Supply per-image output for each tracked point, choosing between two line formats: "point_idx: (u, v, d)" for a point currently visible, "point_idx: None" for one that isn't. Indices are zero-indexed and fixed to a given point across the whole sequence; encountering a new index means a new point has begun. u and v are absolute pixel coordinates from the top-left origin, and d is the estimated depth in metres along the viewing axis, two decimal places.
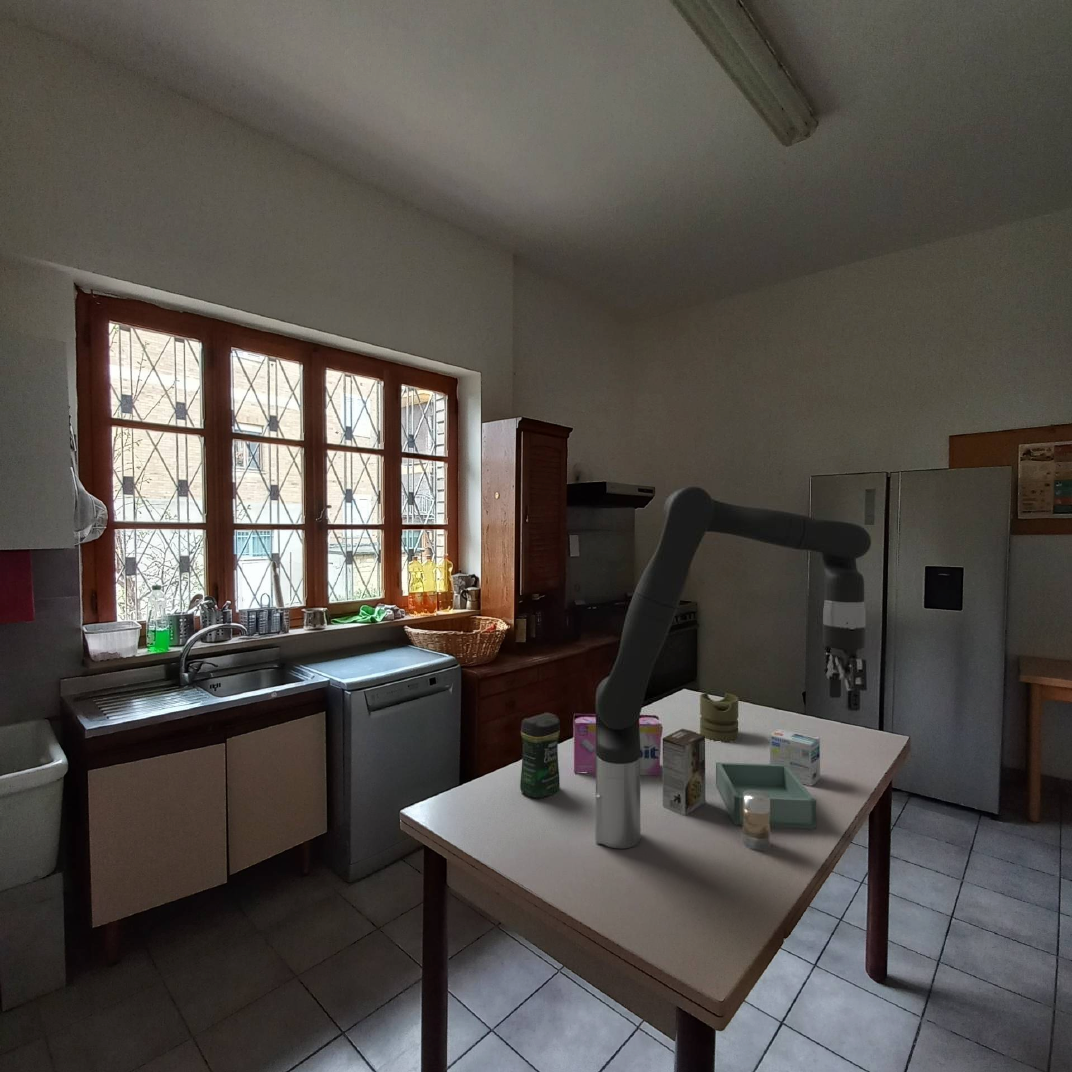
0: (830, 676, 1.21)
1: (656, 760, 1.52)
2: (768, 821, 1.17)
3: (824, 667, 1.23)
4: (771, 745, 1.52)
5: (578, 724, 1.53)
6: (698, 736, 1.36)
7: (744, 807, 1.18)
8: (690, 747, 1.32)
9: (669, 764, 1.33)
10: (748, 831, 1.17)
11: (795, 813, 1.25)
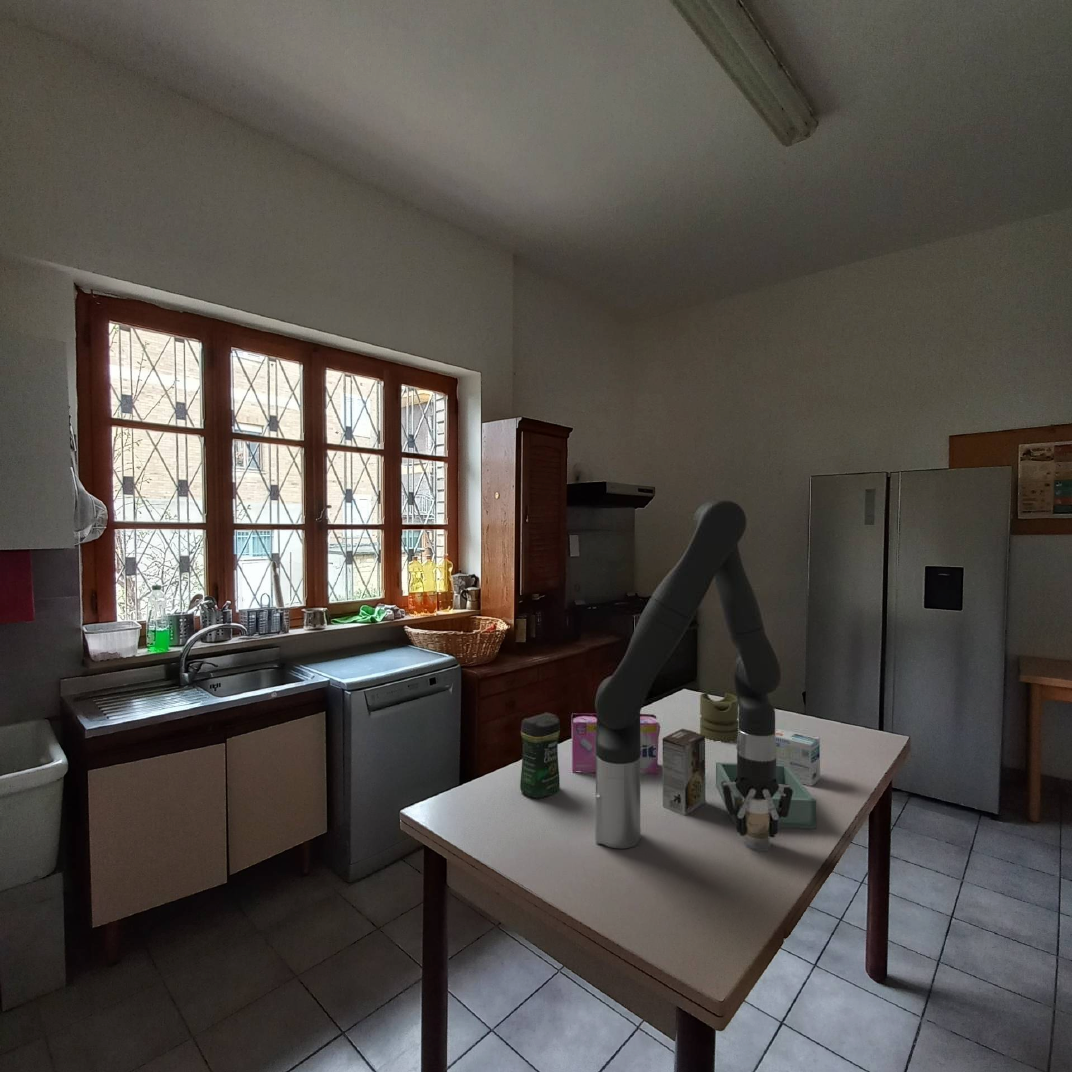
0: None
1: (654, 759, 1.53)
2: (768, 821, 1.17)
3: (730, 809, 1.18)
4: None
5: (576, 723, 1.53)
6: (698, 736, 1.36)
7: None
8: (690, 747, 1.32)
9: (669, 764, 1.33)
10: (748, 831, 1.17)
11: (795, 813, 1.25)
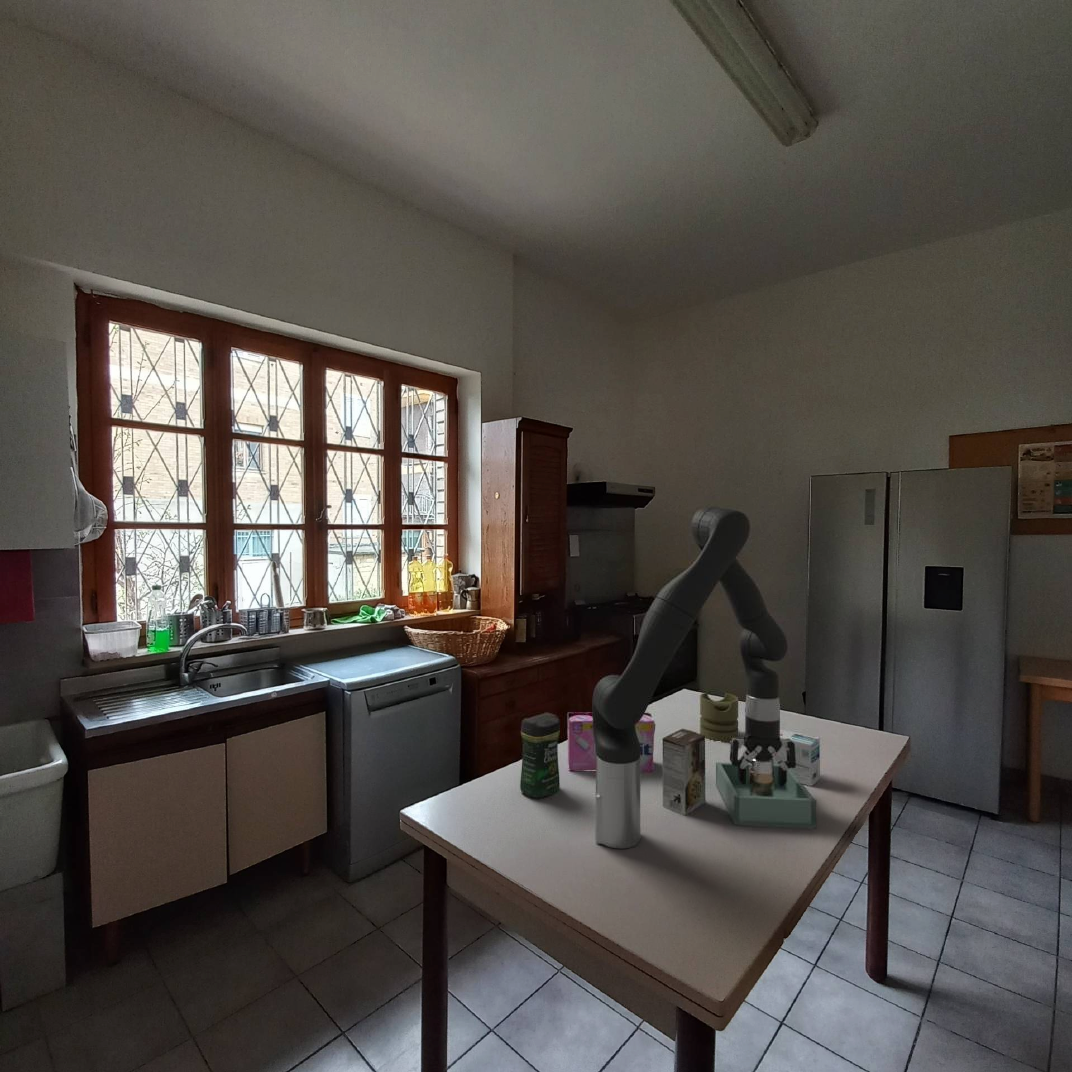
0: None
1: (649, 756, 1.54)
2: (772, 781, 1.33)
3: (734, 760, 1.34)
4: None
5: (573, 722, 1.54)
6: (698, 736, 1.36)
7: (750, 769, 1.35)
8: (690, 747, 1.32)
9: (669, 764, 1.33)
10: (754, 789, 1.34)
11: (795, 813, 1.25)
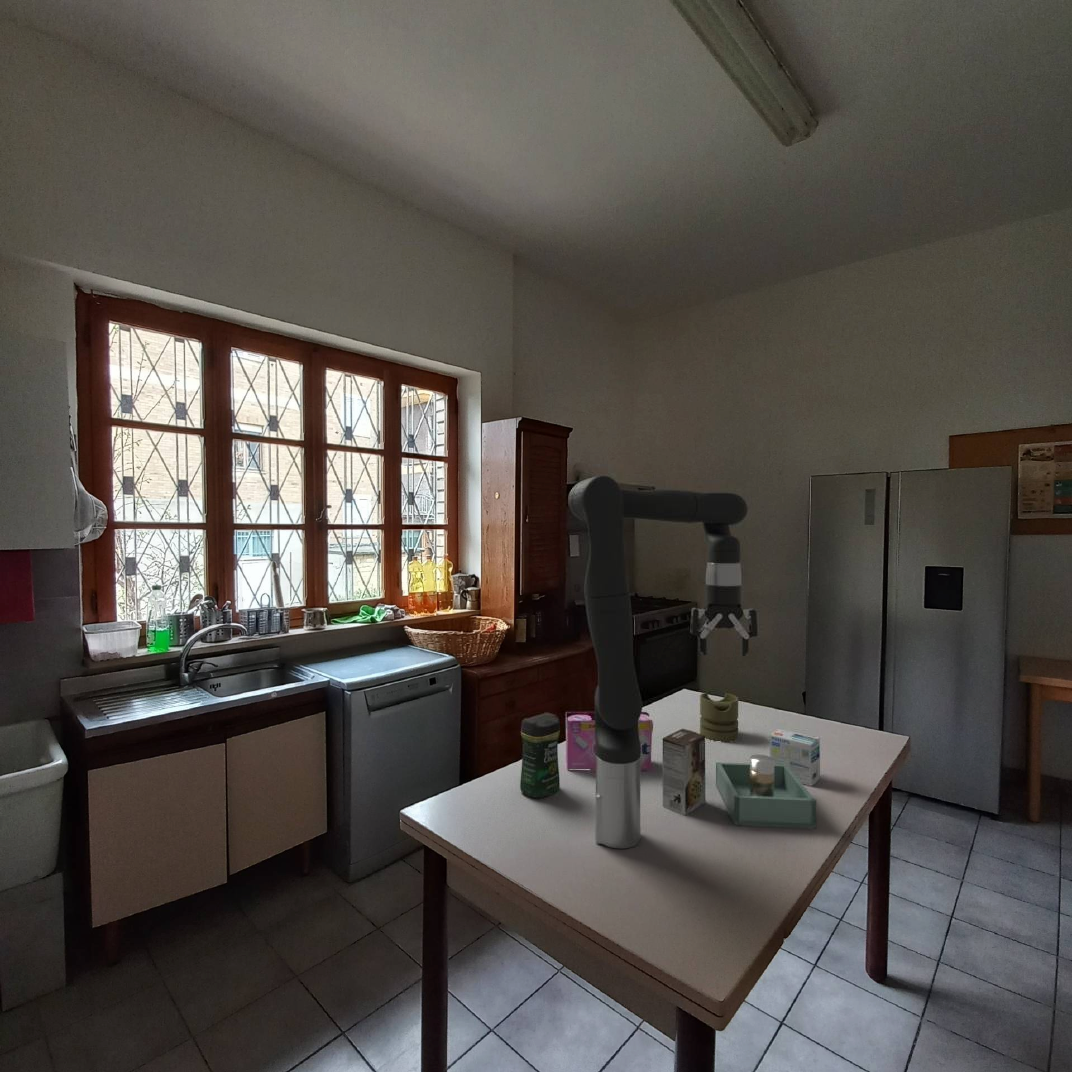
0: (706, 635, 1.30)
1: (647, 755, 1.55)
2: (772, 781, 1.33)
3: (694, 630, 1.30)
4: (771, 745, 1.52)
5: (571, 722, 1.55)
6: (698, 736, 1.36)
7: (751, 768, 1.35)
8: (690, 747, 1.32)
9: (669, 764, 1.33)
10: (754, 789, 1.34)
11: (795, 813, 1.25)
